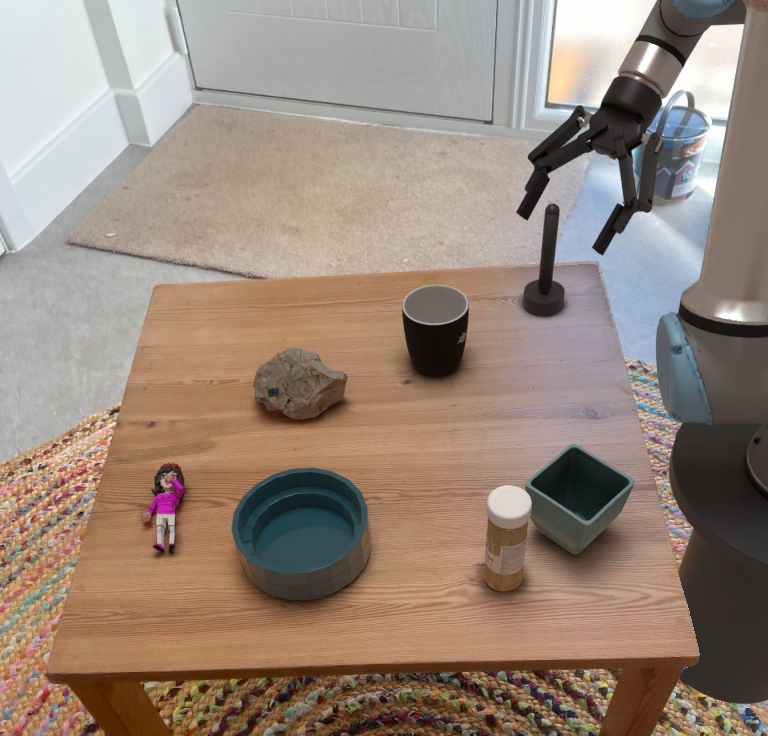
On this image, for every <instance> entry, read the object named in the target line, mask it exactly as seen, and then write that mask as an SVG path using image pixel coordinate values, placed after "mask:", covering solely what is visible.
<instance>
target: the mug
mask: <svg viewBox="0 0 768 736" xmlns="http://www.w3.org/2000/svg"><path fill="white" fill-rule="evenodd" d="M401 303H402V304H401V315H402V316H401V317H402V325H403V333H404V339H405V344H406V347H407V352H408V355H409V358H410V361H411V363H412V365H413V367H414V368H415V369H416V370H417V372H419V373H420V374H422V375H424V376H426V377H434V378H439V377H444V376H445V377H446V376H447V375H450V374H451V373H453V372H454V371H455V370H457V368H458V367H459V365H460V364H461V361H462V359H463V356H464V352H465V347H466V342H467V335H468V329H469V318H470V317H469V316H470V315H469V314H470V303H469V299H468V297H467V295H466V294H465V293H464V292H463V291H462V290H460V289H458V288H457V287H454V286H451V285H446V284H426V285H423V286H419V287H417V288H415V289H413V290H411V291H410V292H408V294H407V295H405V297H404V299H403V301H402V302H401Z"/></svg>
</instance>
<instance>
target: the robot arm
mask: <svg viewBox="0 0 768 736" xmlns="http://www.w3.org/2000/svg"><path fill="white" fill-rule="evenodd" d="M734 25H735V26H736V25H743V29H742V35H741V40H740V46H739V53H738V57H737V63H736V69H735V74H734V81H733V86H732V92H731V98H730V103H729V109H728V115H727V120H726V125H725V132H724V135H723V136H724V139H723V142H722V148H721V153H720V160H719V165H718V172H717V177H716V183H715V187H714V188H715V189H714V194H713V201H712V205H711V211H710V216H709V222H708V227H707V233H706V239H705V246H704V250H703V257H702V262H701V269H700V273H699V278H698V279H697V280H696V281H694V283H691V284H690V285H689V286H688V287H686V288H684V290H683V291H682V293H681V295H680V300H679V305H678V311H677V313H675V311H670V312H668V313H665V314H663V315H661V316H660V317H659V319H658V324H657V326H656V334H655V335H656V336H655V365H656V374H657V375H656V376H657V382H658V389H659V393H660V398H661V402H662V405H663V407H664V409H665V412H666V413H667V414H668V416H669V417H670V418H671V419H673V420H674V421H676V422H679V423H683V422H686V423H706V424H707V425H713V424H746V423H765V424H764V425H763V426H762V427H761V428H760V429H759V430H758V431H757V432H756V433H755V434H754V436H753V437H752V439H751V441H750V443H749V445H748V448H747V451H746V453H745V457H744V467H745V471H746V474H747V477H748V479H749V481H750V482H751V484H752V485H753V487H754V488H755V489H756V490H757V491H758V492H759V493H760V494H761V495H762V496H763V497H764V498H765V499H767V500H768V0H656V1H655V2H654V5H653V6H652V8H651V10H650V12H649V13H648V16H647V18H646V20H645V21H644V24H643V26H642V27H641V29H640V31H639V33H638V35H637V37H636V38H635V40H634V41H633V42H632V45H631V47H630V48H629V51H628V52H627V53H626V55H625V56H624V59H623V61H622V62H621V64H620V66H619V68H618V70H617V75H618V76H615V77H614V78H613V79H612V81H611V83H610V84H609V86H608V88H607V90H606V92H605V93H604V96H603V97H602V100H601V101H600V105H599V108H598V109H597V110H596V112H594V113H592V112H590V111H588V110H586V108H585V107H584V106H583V105H582V104H579V105H577V106H576V107H575V108H574V110H573V111H572V113H571V114H570V116H569V117H568V118H567V119H566V120H565V121H564V122H563V123H561V125H560V126H558V127H557V128H556V129H555V130H554V131H553V132H551V134H549V135H548V136H546V138H545V139H544V140H543V141H541V143H539V144H538V145H536V147H535V148H533V150H531V151H530V152H529V153H528V155H527V160H528V161H529V162H530V164H531V165H532V166H533V171H532V173H531V175H530V177H529V178H528V180H527V182H526V183H525V186H524V192H526V193H525V195H524V197H523V198H522V200H521V202H520V204H519V206H518V208H517V210H516V212H515V213H516V214H517V215H518V216H519V217H520V218H522V219H523V220H525V221H527V222H528V221H529V219H530V217H531V215H532V214H533V212H534V210H535V208H536V206H537V205H538V203H539V201H540V199H541V198H542V195H543V193H544V192H545V190H546V188H547V186H548V185H549V183H550V181H551V178H550V177H549V174H551V173H552V172H554V171H556V170H557V169H559V168H562V167H563V166H565V165H566V164H568V163H570V162H572V161H574V160H576V159H577V158H579V157H581V156H582V155H584V154H589V153H591V152H596V154H597V155H598V154H599V155H602V156H607V157H608V158H609V159H611V160H613V161H615V160H617V161H618V169H619V175H620V182H621V191H622V192H621V193H622V199H623V201H622V204H621V203H618V202H617V203H616V204H615V206H614V207H613V209H612V212H611V213H610V215H609V217H608V218H607V220H606V222H605V224H604V225H603V227H602V229H601V231H600V233H599V234H598V236H597V238H596V239H595V241H594V243H593V245H592V246H591V248H592V249H593V250H594V251H595V252H596V253H597V254H598V255H600V256H602V257H603V256H604V254H605V253H606V251H607V250H608V248H609V246H610V244H611V243H612V242H613V239H614V238H615V236H616V234H618V235H621V234H623V232H624V231H625V230H626V227H627V226H628V225H629V223H630V221H631V219H632V217H633V216H634V215H635V214H636V213H645V214H649V213H650V212H651V211H652V210H653V203H654V195H655V188H656V187H655V186H656V176H657V170H658V169H657V167H658V159H659V156H660V154H661V152H662V150H663V147H664V145H665V141H664V140H663V139H662V136H660V134H659V133H658V132H655V131H654V132H652V133H647V130H648V129H649V128H650V127H651V125H652V124H653V122H654V120H655V119H656V116H657V115H658V113H659V112H660V110H661V108H662V106H663V99H666V98H667V97H668V95H669V94H670V92H671V90H672V89H673V87H674V85H675V83H676V81H677V80H678V78H679V76H680V74H681V72H682V71H683V69H684V67H685V65H686V63H687V61H688V59H690V57H691V55H692V53H693V51H694V50H695V48H696V47H697V45H698V43H699V41H700V40H701V38H702V37H703V35H704V33H705V32H706V31H707V30H708V29H710V27H712V26H713V27H714V26H734ZM588 125H589V127H588ZM587 127H588V129H586V130H584V131H583V132H581V133H580V131H581V130H582V129H585V128H587ZM578 133H579V134H578ZM577 134H578V135H577ZM576 135H577V137H576V138H575V139H573V138H574V137H575V136H576ZM572 139H573V140H572ZM570 140H571V141H570ZM569 141H570V142H569ZM641 145H642V150H643V154H642V163H641V172H640V180H639V187H638V188H639V189H638V195H637V187H636V179H635V172H634V171H635V170H634V157H633V156H634V155H633V150H635V149H636V148H638V147H640V146H641Z"/></svg>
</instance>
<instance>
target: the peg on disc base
mask: <svg viewBox="0 0 768 736" xmlns="http://www.w3.org/2000/svg"><path fill="white" fill-rule="evenodd" d="M560 213H561V209H560V206H559V205H558V204H556V203H549V204H548V205H547V206H546V207H545V208H544V216H543V228H542V239H541V249H540V259H539V271H538V279H534V280H532V281H530V282H528V283H527V284H526V285H525V286H524V289H523V299H522V306H523V308H524V310H525V311H526V312H527V313H528V314H531V315H533V316H536V317H551V316H554V315H557V314H558V313H560V312H561V311H562V309H563V307H564V301H565V294H566V290H565V288H564V286H563V285H562V284H561V283H560V282H558V281H556V280H553V277H554V269H555V259H556V251H557V250H556V249H557V240H558V232H559V222H560Z"/></svg>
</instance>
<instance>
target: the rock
mask: <svg viewBox="0 0 768 736" xmlns="http://www.w3.org/2000/svg"><path fill="white" fill-rule="evenodd" d="M347 382H348V375H347V373H345V372H344V371H342V370H335V369H331V368H330V367H328V366H327V365H326V364H324V363H323V362H322V360H321V357H320V354H319V352H316V351H313V350H305V349H301V348H300V347H288V348H286V349H284V350H283V351H282V352H277V353H276V354H275V355H274V356H272V357H271V358H270V359H269V360H267V361H266V362H265V363H264V364H261V365H260V366H258V368H257V369H256V371H255V375H254V378H253V382H252V385H253V388H254V400H255V402H257V403H258V404H259V403H260V404H263V405H264V407H265V409H266V410H267V411H268V412H276V411H277V412H279V413H283V416H287V417H288V418H289V419H294V420H306V419H313V418H316V417H318V416H319V415H320V414H321V413H323V412H325V411H326V410H327V409H329V408H332V407H333V406H334V405H335V404H337V403H338V402H340V401H341V400H342V399H344V398H345V393H346V387H347Z"/></svg>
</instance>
